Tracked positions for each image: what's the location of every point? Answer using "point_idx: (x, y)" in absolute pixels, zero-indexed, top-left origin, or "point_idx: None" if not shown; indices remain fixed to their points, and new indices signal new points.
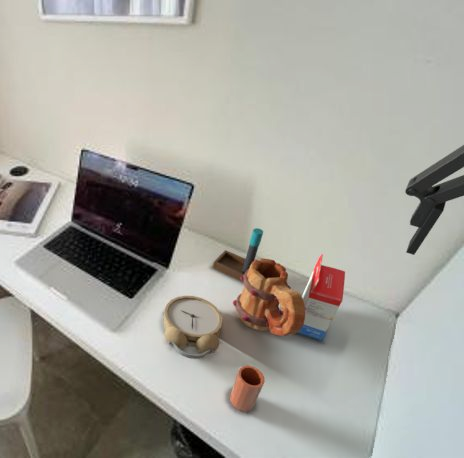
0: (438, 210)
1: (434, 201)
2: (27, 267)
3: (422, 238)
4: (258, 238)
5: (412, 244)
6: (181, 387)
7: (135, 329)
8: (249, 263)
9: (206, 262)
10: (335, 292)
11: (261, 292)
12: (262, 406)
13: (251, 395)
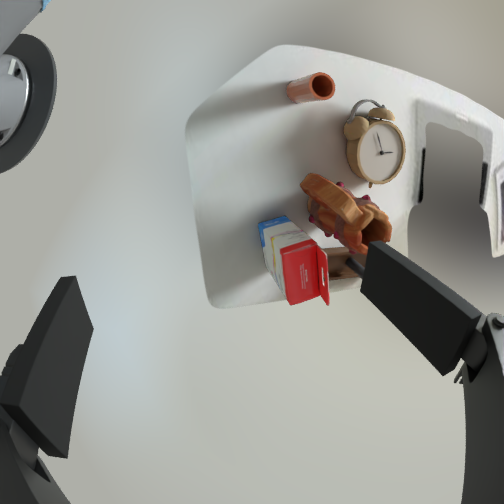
0: (474, 314)
1: (499, 324)
2: (485, 132)
3: (405, 264)
4: None
5: (395, 252)
6: (347, 73)
7: (405, 113)
8: (359, 266)
9: None
10: (293, 262)
11: (363, 201)
12: (279, 98)
13: (306, 76)
